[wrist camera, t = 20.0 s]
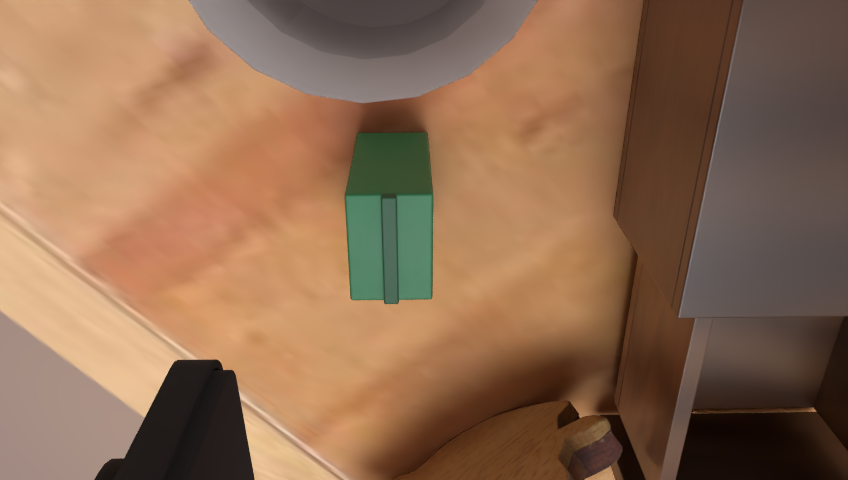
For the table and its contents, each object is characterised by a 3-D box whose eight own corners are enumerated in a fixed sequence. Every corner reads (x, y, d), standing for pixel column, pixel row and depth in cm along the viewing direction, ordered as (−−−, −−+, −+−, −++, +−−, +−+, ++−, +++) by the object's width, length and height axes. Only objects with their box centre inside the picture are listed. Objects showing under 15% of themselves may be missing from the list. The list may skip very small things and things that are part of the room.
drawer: (796, 483, 43) (869, 596, 36) (588, 487, 43) (623, 601, 36) (891, 208, 34) (1012, 287, 27) (631, 210, 34) (687, 291, 27)
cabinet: (888, 214, 35) (1036, 315, 27) (612, 216, 35) (677, 319, 27) (1004, -122, 28) (1254, -126, 20) (660, -122, 28) (768, -126, 20)
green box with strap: (355, 132, 33) (342, 197, 26) (428, 131, 33) (434, 197, 26) (360, 222, 35) (348, 304, 28) (428, 221, 35) (433, 304, 28)
